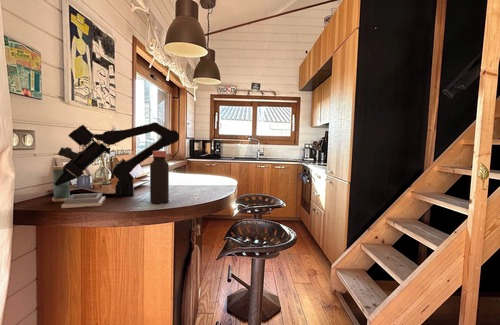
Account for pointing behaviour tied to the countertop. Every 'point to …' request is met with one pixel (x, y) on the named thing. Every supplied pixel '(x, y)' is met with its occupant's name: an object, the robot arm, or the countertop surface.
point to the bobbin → (61, 190)
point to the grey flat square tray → (84, 200)
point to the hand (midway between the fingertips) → (57, 183)
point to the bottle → (159, 178)
